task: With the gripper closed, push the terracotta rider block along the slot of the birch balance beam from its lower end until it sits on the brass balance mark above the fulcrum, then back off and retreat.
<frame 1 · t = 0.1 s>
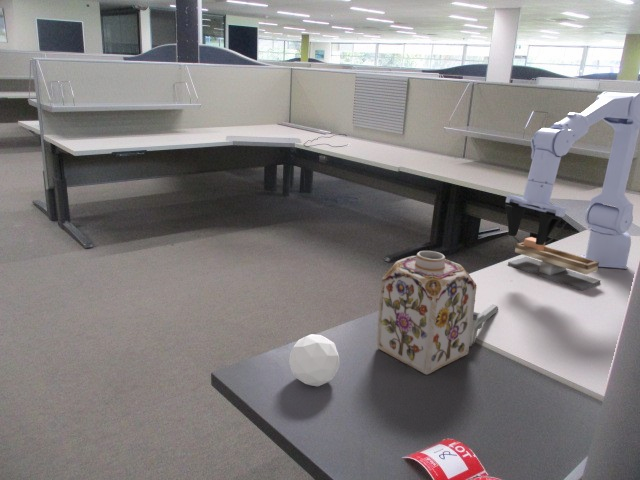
hand: (525, 239, 123), 11 cm above the table, tool pointing down, fingers open, 7 cm apart
rider: (534, 244, 136), point 6 cm above the table, slide at -6.0 cm
ball: (313, 382, 83), on the table
decorative jar: (422, 353, 93), on the table
balance beam: (552, 273, 133), on the table
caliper: (482, 328, 104), on the table
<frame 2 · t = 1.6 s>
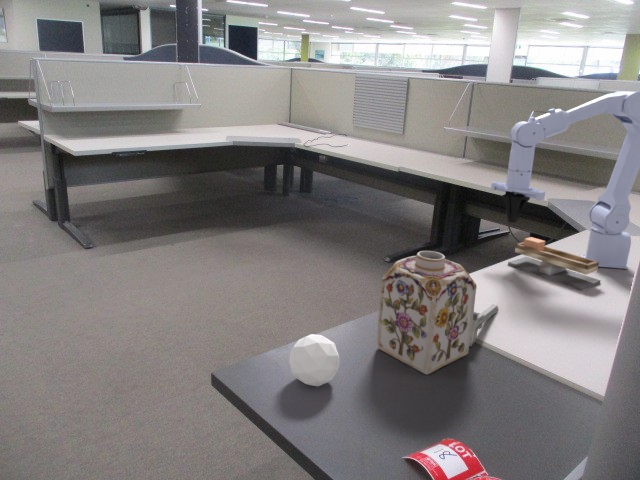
hand: (512, 221, 140), 10 cm above the table, tool pointing down, fingers closed
nothing on the table moved.
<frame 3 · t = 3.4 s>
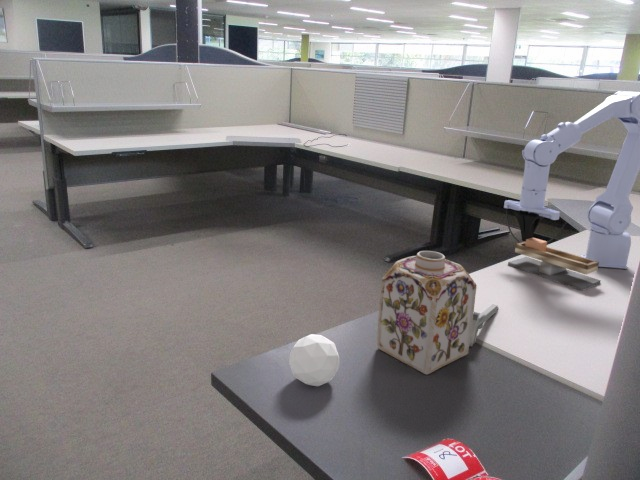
hand: (526, 240, 137), 6 cm above the table, tool pointing down, fingers closed
rider: (535, 245, 135), point 6 cm above the table, slide at -5.4 cm, touching gripper
everything else where it was.
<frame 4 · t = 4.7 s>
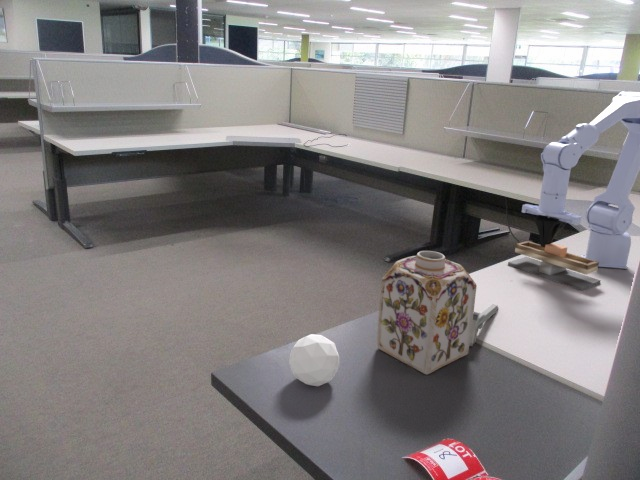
hand: (545, 246, 133), 6 cm above the table, tool pointing down, fingers closed
rider: (555, 250, 131), point 6 cm above the table, slide at -0.1 cm, touching gripper
everything else where it was.
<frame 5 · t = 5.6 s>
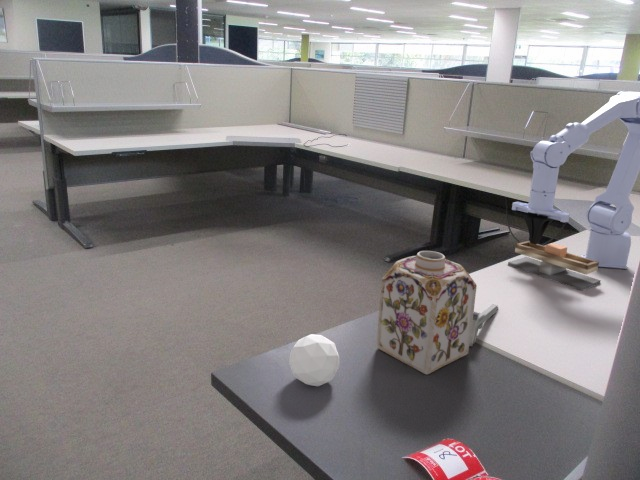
hand: (534, 243, 135), 6 cm above the table, tool pointing down, fingers closed
rider: (555, 250, 131), point 6 cm above the table, slide at -0.1 cm
everything else where it was.
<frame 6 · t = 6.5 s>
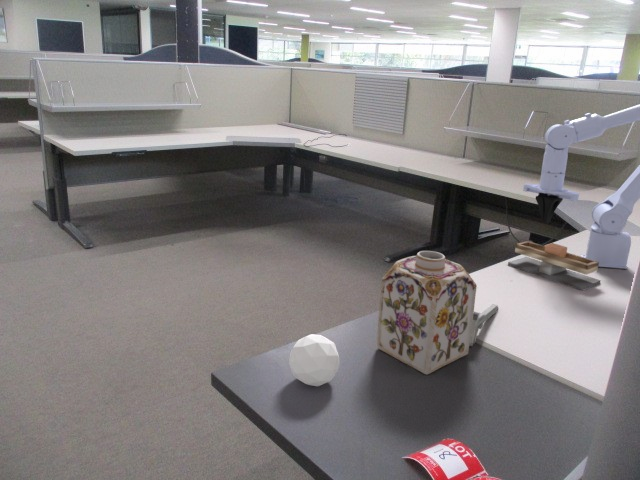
hand: (545, 222, 143), 10 cm above the table, tool pointing down, fingers closed
nothing on the table moved.
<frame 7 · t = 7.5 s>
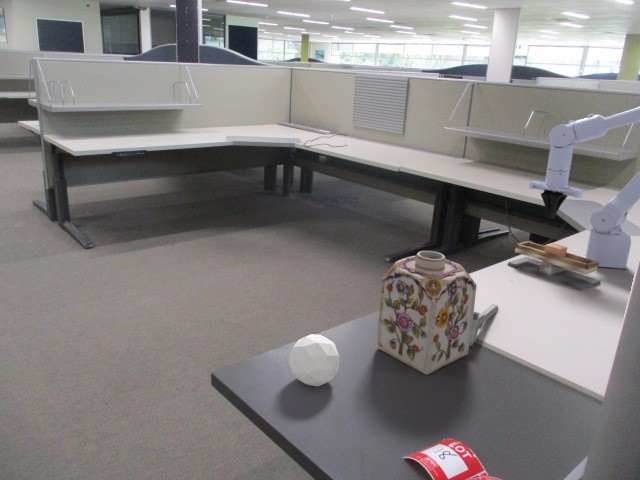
hand: (550, 218, 148), 9 cm above the table, tool pointing down, fingers closed
nothing on the table moved.
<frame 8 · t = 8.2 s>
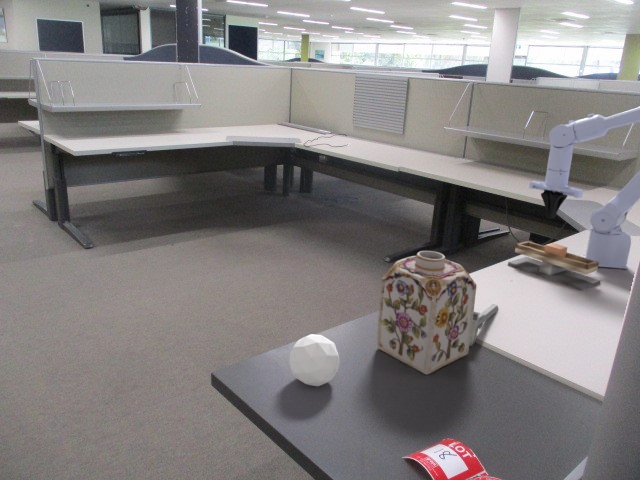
hand: (550, 218, 148), 9 cm above the table, tool pointing down, fingers closed
nothing on the table moved.
at the end: rider slide at -0.1 cm; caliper moved 0.5 cm from its start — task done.
